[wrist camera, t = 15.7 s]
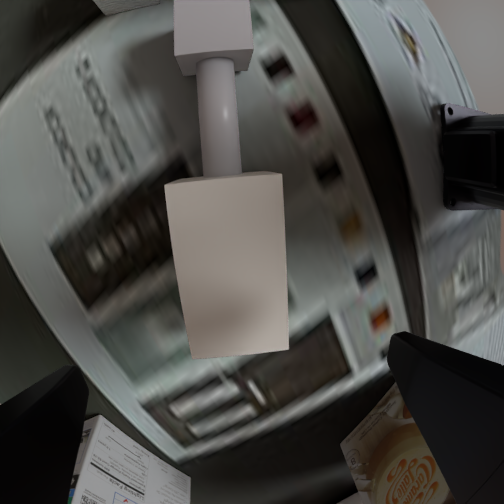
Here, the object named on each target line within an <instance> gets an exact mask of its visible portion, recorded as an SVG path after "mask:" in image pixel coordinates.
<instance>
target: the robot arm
mask: <svg viewBox="0 0 504 504" xmlns="http://www.w3.org/2000/svg"><path fill="white" fill-rule="evenodd" d="M447 110H449V113H448V111H447ZM441 120H442V134H443V153H444V206H445V207H446V208H447V209H450V210H476V209H501V210H504V114H495V115H491V114H488V113H485V112H481V111H478V110H474V109H470V108H467V107H463V106H459V105H455V104H450V103H447V104H443V105H442V106H441ZM451 199H452V203H451V204H450V201H451ZM387 362H388V365H389V368H390V370H391V372H392V375H393V377H394V379H395V382H396V384H397V386H398V389H399V391H400V394H401V396H402V398H403V400H404V403H405V405H406V407H407V409H408V410H409V412H410V414H411V416H412V418H413V419H414V421H415V423H416V425H417V427H418V429H419V431H420V432H421V434H422V436H423V438H424V440H425V442H426V444H427V446H428V447H429V449H430V451H431V453H432V455H433V457H434V459H435V461H436V463H437V465H438V467H439V469H440V471H441V473H442V475H443V477H444V479H445V481H446V483H447V485H448V487H449V489H450V491H451V493H452V495H453V498H454V500H455V502H456V504H504V365H503V366H502V365H501V364H498V363H495V362H492V361H489V360H486V359H483V358H481V357H478V356H475V355H472V354H469V353H466V352H463V351H460V350H457V349H454V348H451V347H448V346H446V345H443V344H440V343H437V342H434V341H431V340H428V339H426V338H423V337H420V336H417V335H414V334H411V333H409V332H406V331H403V332H399V333H395V334H393V335H392V336H391V339H390V345H389V350H388V355H387ZM88 397H89V389H88V386H87V384H86V381H85V379H84V377H83V375H82V372H81V370H80V368H79V367H78V366H76V365H64V366H63V367H61V368H59V369H58V370H56V371H55V372H53V373H51V374H50V375H48V376H46V377H45V378H43V379H42V380H40V381H38V382H37V383H35V384H34V385H32V386H30V387H29V388H27V389H26V390H24V391H22V392H21V393H19V394H17V395H16V396H14V397H13V398H11V399H9V400H8V401H6V402H5V403H3V404H1V405H0V504H68V499H69V493H70V488H71V483H72V478H73V473H74V469H75V464H76V460H77V455H78V451H79V447H80V443H81V439H82V434H83V428H84V421H85V414H86V408H87V402H88Z"/></svg>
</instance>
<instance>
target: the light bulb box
mask: <svg viewBox="0 0 504 504" xmlns="http://www.w3.org/2000/svg"><path fill="white" fill-rule="evenodd" d="M190 496H191V477H189V476H187V475H185V474H184V473H182V472H180V471H179V470H177V469H175V468H174V467H172V466H171V465H169V464H167V463H166V462H164V461H163V460H161V459H160V458H158V457H157V456H155V455H154V454H152V453H151V452H149V451H148V450H146V449H145V448H143V447H142V446H141V445H139V444H138V443H136V442H135V441H134V440H132V439H131V438H130V437H128V436H127V435H126V434H124V433H123V432H122V431H120V430H119V429H118V428H117V427H115V426H114V425H113V424H112V423H110V422H109V421H108V420H107V419H106V418H104V417H103V416H102V415H98V416H95V417H93V418H91V419H89V420H87V421H84V428H83V434H82V439H81V443H80V447H79V451H78V455H77V460H76V464H75V469H74V473H73V478H72V483H71V488H70V493H69V499H68V504H190Z"/></svg>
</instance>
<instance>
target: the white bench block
mask: <svg viewBox="0 0 504 504" xmlns="http://www.w3.org/2000/svg"><path fill="white" fill-rule="evenodd" d="M93 1H94V2H95V3H96V5H97V6H98V7H99V8H100V9H101V10H102V12H103V13H104V14H105V15H106V16H109V15H112V14H116V13H120V12H124V11H128V10H132V9H136V8H141V7H146V6H151V5H156V4H160V0H93Z"/></svg>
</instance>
